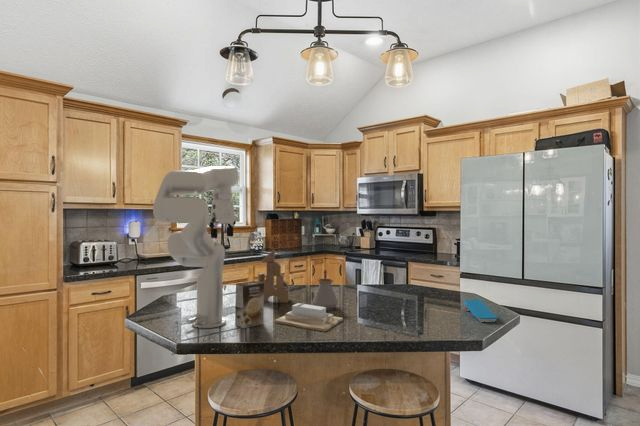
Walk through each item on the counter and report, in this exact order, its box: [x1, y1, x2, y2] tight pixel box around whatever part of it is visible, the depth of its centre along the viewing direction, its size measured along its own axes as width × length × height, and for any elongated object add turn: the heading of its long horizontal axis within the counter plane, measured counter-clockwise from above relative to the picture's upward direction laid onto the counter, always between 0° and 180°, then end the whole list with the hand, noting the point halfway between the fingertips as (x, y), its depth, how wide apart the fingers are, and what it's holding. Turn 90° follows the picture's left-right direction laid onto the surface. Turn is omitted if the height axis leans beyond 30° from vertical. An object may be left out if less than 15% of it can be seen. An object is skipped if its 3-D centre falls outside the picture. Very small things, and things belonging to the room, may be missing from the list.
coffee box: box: [234, 280, 265, 329], centre depth 146 cm, size 9×6×16 cm
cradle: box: [274, 310, 343, 332], centre depth 150 cm, size 16×22×3 cm
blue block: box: [464, 299, 498, 320], centre depth 160 cm, size 7×7×18 cm
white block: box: [291, 302, 327, 319], centre depth 150 cm, size 4×13×5 cm, turn 62°
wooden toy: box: [257, 249, 290, 304], centre depth 183 cm, size 16×7×25 cm, turn 87°
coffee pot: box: [312, 269, 339, 311], centre depth 175 cm, size 21×12×15 cm, turn 179°
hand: (222, 237), depth 163 cm, fingers open, 9 cm apart
